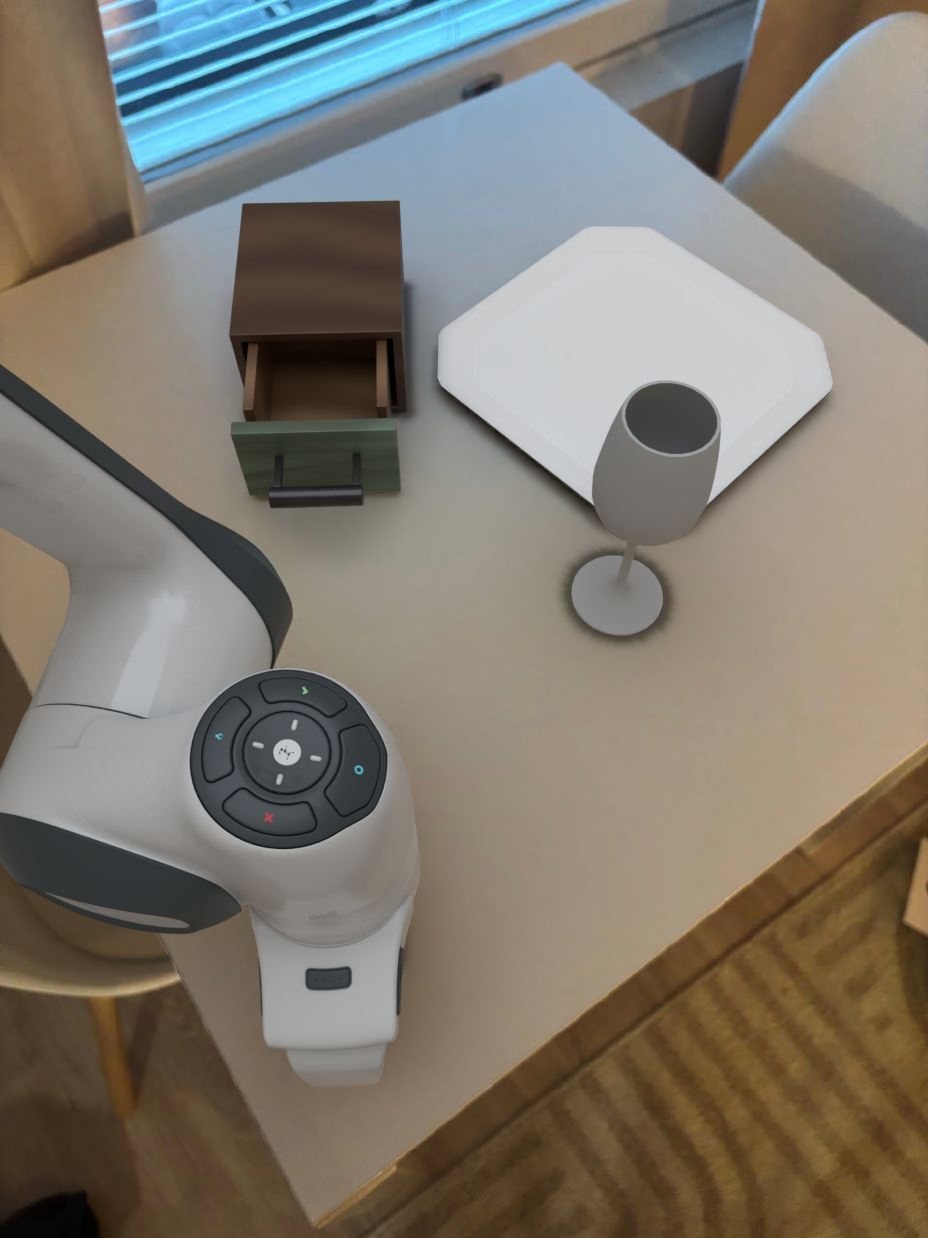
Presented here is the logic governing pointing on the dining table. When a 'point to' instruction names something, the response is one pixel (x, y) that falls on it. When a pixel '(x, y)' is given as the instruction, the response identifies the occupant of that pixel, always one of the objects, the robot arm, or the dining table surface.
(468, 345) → the plate
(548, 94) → the dining table surface
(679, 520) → the wineglass
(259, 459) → the drawer
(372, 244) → the cabinet
